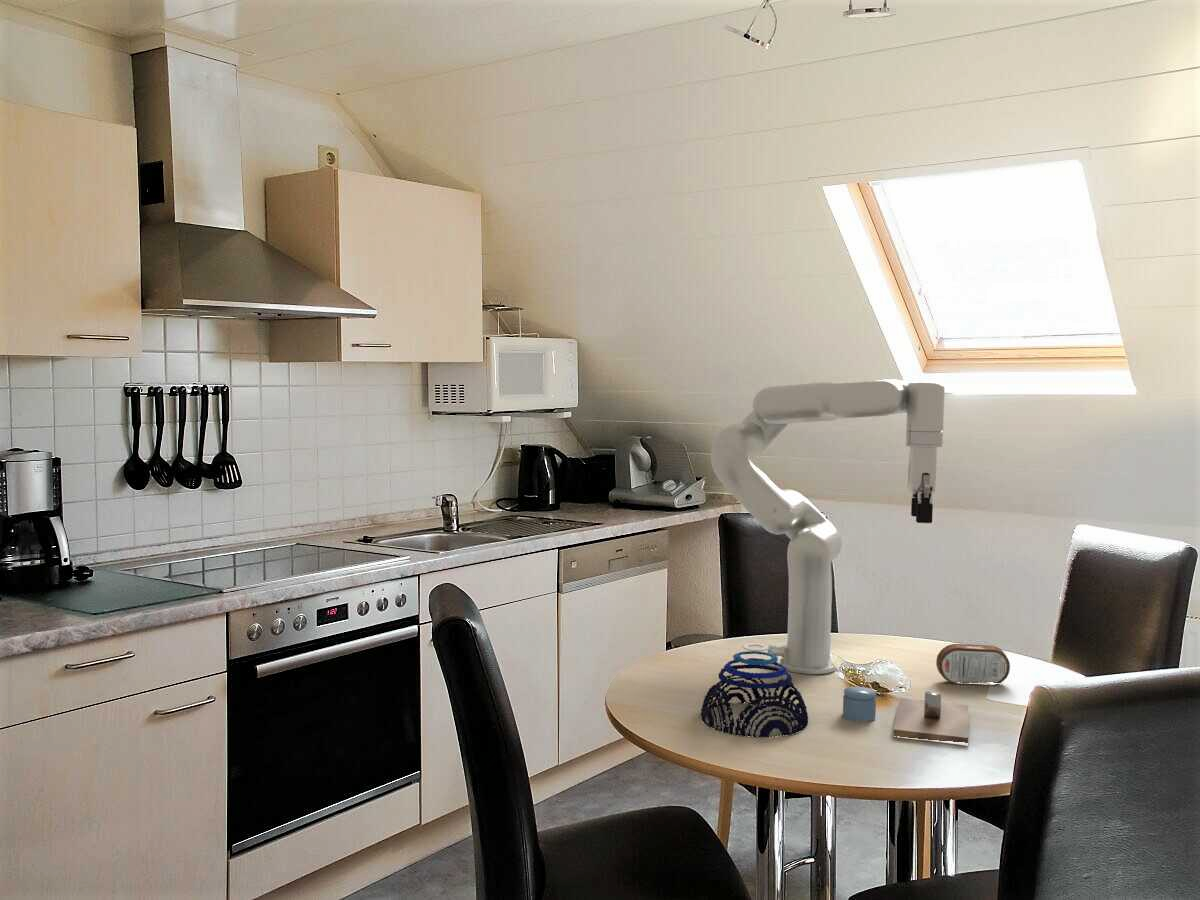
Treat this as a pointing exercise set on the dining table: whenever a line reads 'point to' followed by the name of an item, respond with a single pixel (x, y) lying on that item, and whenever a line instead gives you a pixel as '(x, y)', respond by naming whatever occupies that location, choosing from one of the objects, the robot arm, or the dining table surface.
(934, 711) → the post
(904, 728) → the post base
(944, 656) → the tin
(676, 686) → the dining table surface
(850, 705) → the cap
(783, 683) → the decorative bowl
